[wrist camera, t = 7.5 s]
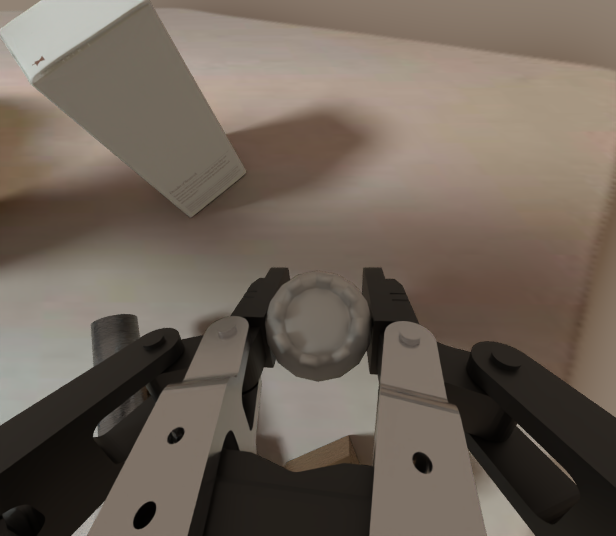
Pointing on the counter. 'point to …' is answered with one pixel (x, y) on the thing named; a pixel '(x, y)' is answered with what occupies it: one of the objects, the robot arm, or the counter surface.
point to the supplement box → (127, 92)
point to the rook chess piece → (318, 326)
